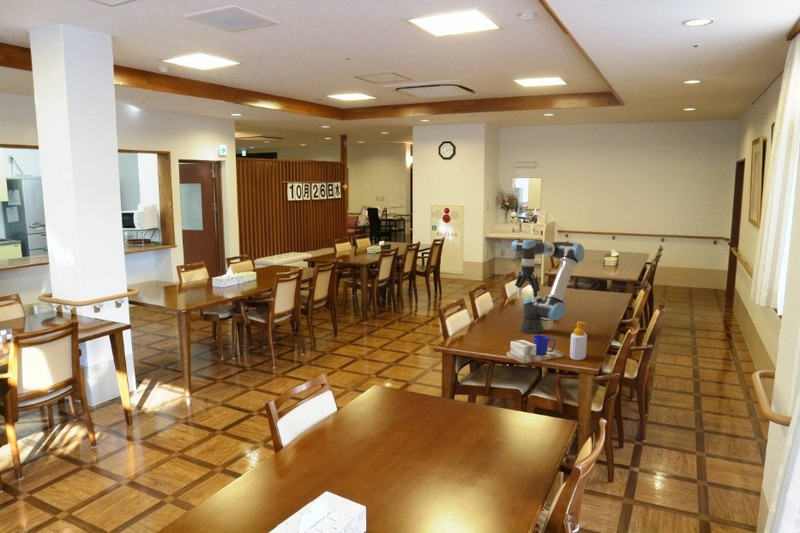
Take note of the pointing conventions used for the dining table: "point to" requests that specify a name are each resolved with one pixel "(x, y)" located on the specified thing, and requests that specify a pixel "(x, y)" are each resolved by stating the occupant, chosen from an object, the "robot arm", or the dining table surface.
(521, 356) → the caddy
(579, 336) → the soap bottle
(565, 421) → the dining table surface
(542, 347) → the mug
